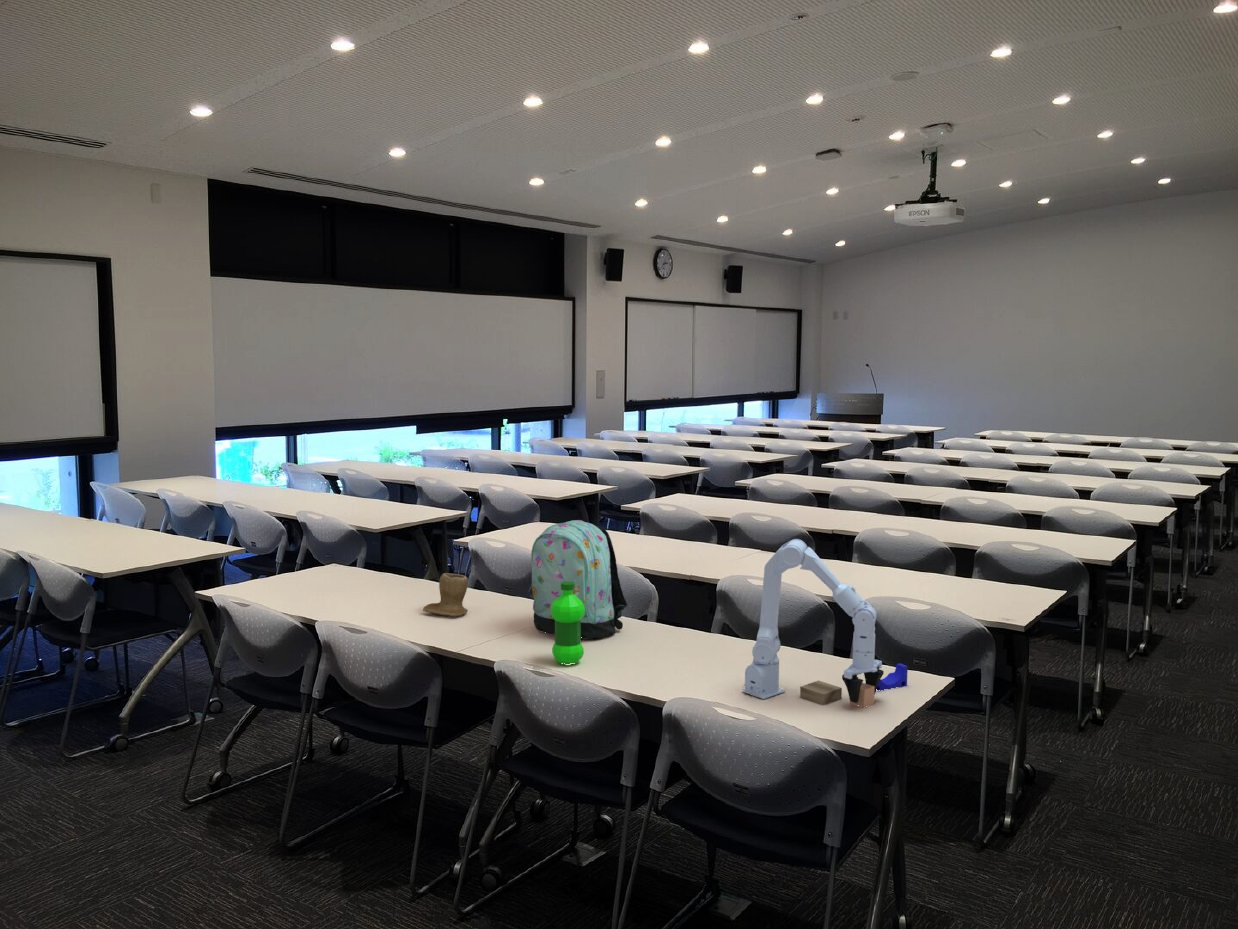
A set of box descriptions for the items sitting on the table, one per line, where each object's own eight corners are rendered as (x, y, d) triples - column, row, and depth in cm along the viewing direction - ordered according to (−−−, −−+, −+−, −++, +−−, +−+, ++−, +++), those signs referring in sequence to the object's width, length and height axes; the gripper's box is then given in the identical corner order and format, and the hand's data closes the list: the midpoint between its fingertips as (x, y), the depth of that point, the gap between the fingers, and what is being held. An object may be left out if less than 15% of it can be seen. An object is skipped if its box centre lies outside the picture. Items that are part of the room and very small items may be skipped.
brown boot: (475, 612, 349) (474, 572, 347) (455, 620, 338) (454, 579, 337) (442, 607, 356) (441, 568, 354) (421, 615, 345) (421, 574, 344)
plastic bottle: (568, 670, 284) (568, 588, 281) (544, 663, 291) (543, 583, 288) (591, 662, 291) (591, 583, 289) (567, 655, 298) (567, 577, 296)
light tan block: (864, 708, 254) (864, 690, 254) (850, 703, 258) (850, 685, 257) (873, 704, 257) (874, 686, 257) (859, 699, 261) (860, 682, 260)
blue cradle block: (896, 682, 276) (896, 661, 275) (906, 686, 272) (907, 666, 271) (863, 687, 271) (864, 667, 270) (873, 692, 266) (874, 672, 266)
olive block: (823, 705, 256) (823, 694, 256) (800, 697, 262) (800, 686, 262) (841, 698, 261) (841, 687, 261) (818, 690, 267) (818, 680, 267)
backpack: (515, 638, 317) (514, 524, 313) (546, 619, 340) (546, 513, 336) (604, 648, 306) (604, 530, 302) (630, 629, 329) (631, 519, 324)
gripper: (860, 658, 248) (858, 709, 249) (892, 648, 257) (890, 696, 259) (838, 652, 253) (836, 701, 255) (870, 642, 263) (868, 689, 264)
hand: (862, 698), depth 257 cm, fingers open, 7 cm apart
